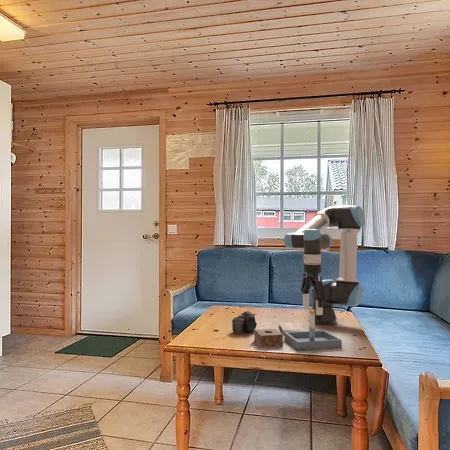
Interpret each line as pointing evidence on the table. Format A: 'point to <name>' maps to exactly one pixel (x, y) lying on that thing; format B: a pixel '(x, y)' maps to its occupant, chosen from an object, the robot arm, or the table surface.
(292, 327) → the washcloth
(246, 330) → the camera
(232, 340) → the table surface
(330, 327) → the table surface
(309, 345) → the tray
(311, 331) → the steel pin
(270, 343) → the block
